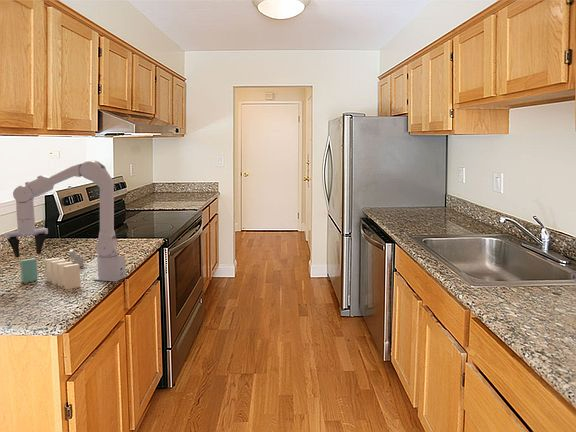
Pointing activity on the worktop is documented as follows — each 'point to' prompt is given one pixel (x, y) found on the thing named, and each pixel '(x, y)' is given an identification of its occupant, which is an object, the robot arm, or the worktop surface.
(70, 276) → the domino
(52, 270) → the domino
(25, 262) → the end tile
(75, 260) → the grey angular flat piece
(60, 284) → the domino
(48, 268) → the domino
